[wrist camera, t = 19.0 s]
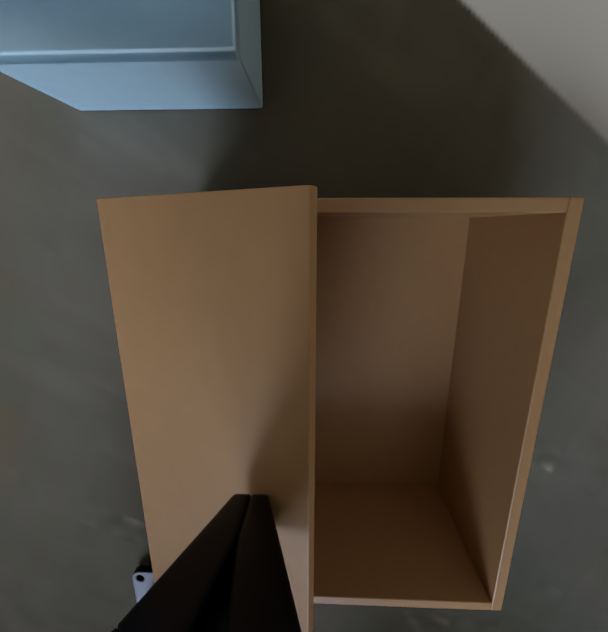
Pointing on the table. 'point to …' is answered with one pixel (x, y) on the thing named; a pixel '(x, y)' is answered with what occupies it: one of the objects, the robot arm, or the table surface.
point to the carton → (430, 390)
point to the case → (136, 52)
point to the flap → (219, 360)
